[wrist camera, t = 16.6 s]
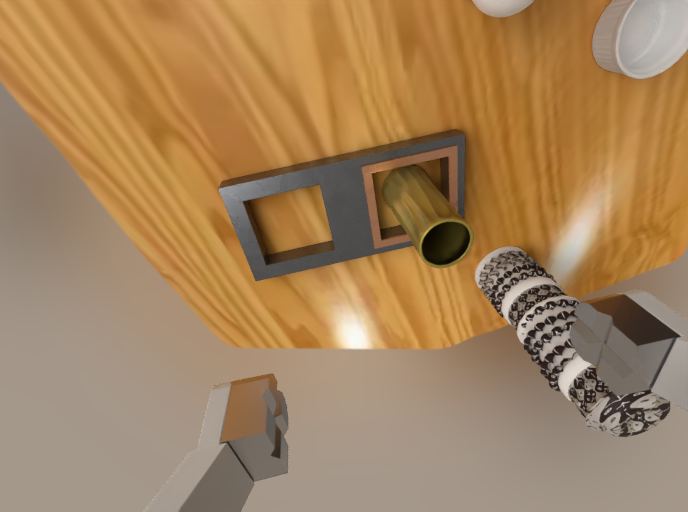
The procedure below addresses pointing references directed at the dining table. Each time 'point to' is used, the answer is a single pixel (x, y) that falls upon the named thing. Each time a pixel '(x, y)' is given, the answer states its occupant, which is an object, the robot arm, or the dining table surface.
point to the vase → (427, 217)
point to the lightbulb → (501, 6)
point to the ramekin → (641, 36)
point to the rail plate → (342, 201)
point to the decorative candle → (560, 342)
